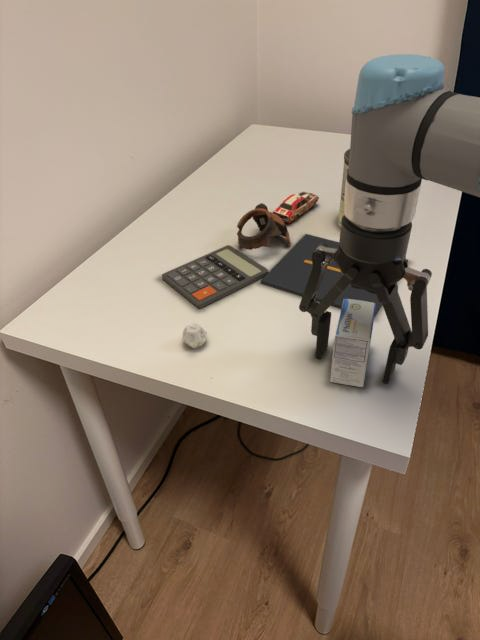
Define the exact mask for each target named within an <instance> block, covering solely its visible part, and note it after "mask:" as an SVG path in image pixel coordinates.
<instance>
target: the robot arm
mask: <svg viewBox="0 0 480 640" xmlns="http://www.w3.org/2000/svg"><path fill="white" fill-rule="evenodd" d="M445 73H446V68H445V66H444V64H443V62H442V61H440V60H439V59H436V58H432V57H431V56H426V55H421V54H411V53H410V54H409V53H408V54H406V53H404V54H402V53H400V54H399V53H398V54H387V55H381V56H378V57H375V58H371V59H370V60H368V61H366V63H364V64H363V66H361V69H360V70H359V73H358V80H357V84H356V85H357V86H356V92H355V99H354V102H353V103H354V104H353V107H352V109H351V114H352V116H351V129H350V132H351V133H350V144H349V145H350V146H349V149H350V156H349V167H348V169H347V177H346V186H345V195H344V205H343V213H344V215H343V217H342V222H341V227H340V232H339V240H338V242H339V248H338V249H334V248H329V246H328V244H326V243H321V244H320V245H319V247H318V248H317V249H316V250H315V251H314V252H313V253H312V266H313V268H312V271H311V273H310V276H309V279H308V282H307V285H306V288H305V291H304V294H303V296H301V300H300V302H299V305H298V309H299V310H300V311H301V312H302V313H306V312H307V313H308V314H309V315H310V317H311V325H310V326H311V328H310V332H311V335H312V336H315V337H316V343H315V354H314V355H315V356H314V358H316V359H318V360H320V359H322V357H323V355H324V354H325V352H326V351H327V349H328V348H329V339H330V330H331V320H332V312H331V311H328V309H329V308H330V307H331V304H332V303H333V302H334V301H335V300H336V298H337V297H338V296H339V295H340V294H341V293H342V292H343V291H344V289H345V288H346V287H347V286H348V285H349V284H350V285H351V287H352V288H356V289H364V290H366V291H368V292H370V293H373V294H376V295H377V297H378V300H379V302H380V303H382V307H383V310H384V313H385V315H386V318H387V321H388V324H389V327H390V329H391V332H392V335H393V340H392V341H391V344H390V346H389V350H388V354H387V359H386V363H385V367H384V372H383V377H382V383H384V384H387V385H388V384H389V382H390V381H391V379H392V377H393V375H394V373H395V370H396V367H397V365H399V366H402V365H403V364H404V362H405V360H406V358H407V356H408V352H409V349H410V348H411V347H412V348H414V349H415V350H422V349H423V348H424V346H425V343H426V341H427V340H428V336H429V315H428V314H429V313H428V312H429V311H428V286H429V283H430V281H431V279H432V276H433V273H432V271H431V270H430V269H428V268H423V269H422V270H421V271H420V270H417V269H414V268H411V267H409V265H408V263H407V262H406V259H407V253H408V247H409V243H410V238H411V232H412V228H413V223H412V221H414V219H415V215H416V211H417V205H418V200H419V195H420V191H421V187H422V186H421V185H422V182H423V181H422V180H425V181H429V182H432V183H435V184H439V185H442V186H444V187H447V188H451V189H453V190H456V191H459V192H462V193H466V194H467V195H470V196H474V197H477V198H480V97H478V96H472V95H467V94H461V93H457V92H453V91H452V90H447V89H444V88H445V86H444V84H445V82H446V81H445ZM332 260H335V262H336V264H337V265H338V267H339V269H340V271H341V272H342V274H343V275H342V276H341V278H340V279H339V280H338V281H337V282H336V284H335V285H334V286H333V287H332V289H331V290H330V291H329V292H328V293H327V295H326V296H325V297H324V298H323V299H322V301H321V302H319V301H316V300H315V298H316V295H317V293H318V290H319V288H320V285H321V282H322V280H323V277H324V274H325V272H326V269H327V266H328V265H329V264H330V263H331V262H332ZM402 279H404V280H405V281H406V285H407V289H408V291H411V292H410V298H409V302H410V319H411V326H410V323H409V320H408V317H407V313H406V311H405V308H404V305H403V301H402V300H401V297H400V293H399V286H398V282H400V281H401V280H402Z"/></svg>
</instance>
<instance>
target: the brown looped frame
mask: <svg viewBox="0 0 480 640" xmlns="http://www.w3.org/2000/svg"><path fill="white" fill-rule="evenodd" d="M251 219H252V220H253V221H254V222H255V223H256V225H257V227H258V229H259V233H257V234H255V235H252V236H247V235H244V234H243V233H242V231H243V228H244V227H245V225H246V224H247V222H248V221H250V220H251ZM236 228H237V229H238V231H237V233H236V235H237V243H238V246H239V247H240V248H242V249H246V250H249V251H252V250H257V249H259V248H262V247H266V248H270V247H271V245H270V240H269V237H272V238H273V237H280V236H282V237H284V238H285V241H286V242H287V247H288V248H290V247H291V244H292V243H291V238H290V233H289V230H288V226H287V225H286V222H284V221H283V220H282V219H281V218H280V217H279V216H278V215H276V214H274V213H273V211H269V208H268V206H267V205H266V204H265V203H259V204H257V205H256V206H255V208H253V209H251V210H249V211H247V212H246V213H244V214H243V216H242V217H241V218H240V219H239V220H238V222H237V225H236Z"/></svg>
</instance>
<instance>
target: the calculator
mask: <svg viewBox="0 0 480 640" xmlns="http://www.w3.org/2000/svg"><path fill="white" fill-rule="evenodd" d="M268 273H269V269H268V268H267V267H265V266H263V265H262V264H260V263H259V262H257V261H256V260H254V259H252V258H250V257H249V256H248V255H246V254H244V253H243V252H241V251H240V250H238V249H236V248H234V247H233V246H231V245H229V244H228V245H225V246H222V247H220V248H217V249H216V250H214V251H213V250H212V251H211V252H209V253H207V254H204V255H202V256H200V257H197V258H195V259H193V260H190V261H189V262H187V263H183V264H182V265H180V266H178V267H175V268H173V269H170V270H168V271H166V272H164V273H162V274H161V278H162V280H163V281H164V282H165V283H167V284H168V285H169V286H170V287H172V289H174V290H175V291H176V292H178V293H179V294H180V295H181V296H183V297H184V298H185V299H186V300H188V301H189V302H190V303H191V304H193V305H194V306H195V307H196V308H197V309H202V308H205V307H207V306H208V305H210V304H212V303H214V302H217V301H218V300H221V299H222V298H225V297H226V296H229V295H230V294H232V293H235V292H236V291H238V290H240V289H242V288H244V287H247V286H248V285H251V284H252V283H254V282H256V281H258V280H260V279H263V278H264V277H265V276H266V275H267V274H268Z"/></svg>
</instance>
